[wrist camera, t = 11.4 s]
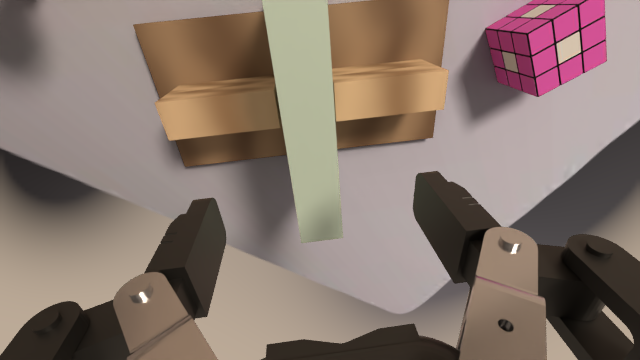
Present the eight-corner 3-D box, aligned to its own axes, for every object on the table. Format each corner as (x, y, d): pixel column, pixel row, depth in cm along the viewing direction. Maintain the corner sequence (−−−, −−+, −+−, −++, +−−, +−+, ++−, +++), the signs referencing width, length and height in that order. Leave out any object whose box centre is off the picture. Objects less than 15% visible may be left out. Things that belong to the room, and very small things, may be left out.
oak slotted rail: (187, 162, 31) (165, 196, 26) (138, 24, 25) (94, 29, 19) (429, 134, 32) (458, 161, 27) (444, -8, 25) (488, -11, 20)
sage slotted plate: (271, -14, 23) (257, -28, 13) (309, -18, 23) (325, -35, 13) (297, 165, 31) (301, 243, 21) (325, 162, 32) (342, 237, 21)
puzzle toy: (497, 82, 30) (537, 98, 25) (484, 28, 27) (526, 33, 22) (554, 51, 29) (608, 61, 24) (546, -9, 26) (605, -11, 21)
